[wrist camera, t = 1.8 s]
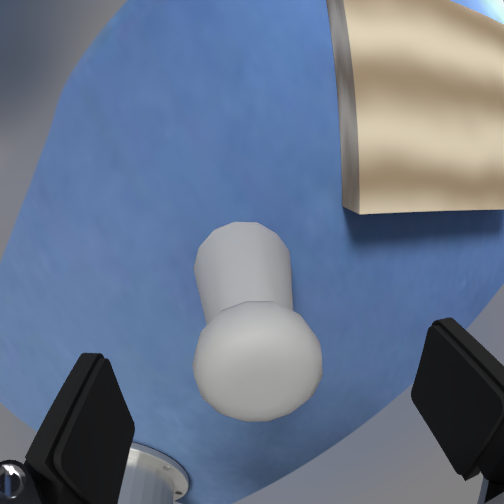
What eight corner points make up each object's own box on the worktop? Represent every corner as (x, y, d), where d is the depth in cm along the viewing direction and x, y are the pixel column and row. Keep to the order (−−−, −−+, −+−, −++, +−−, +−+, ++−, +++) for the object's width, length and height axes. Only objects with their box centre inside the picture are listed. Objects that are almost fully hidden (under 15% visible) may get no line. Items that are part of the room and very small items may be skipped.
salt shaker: (238, 195, 20) (259, 260, 8) (301, 252, 22) (387, 368, 9) (179, 262, 21) (132, 394, 9) (243, 312, 23) (264, 463, 10)
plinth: (498, 202, 22) (521, 209, 19) (342, 206, 21) (359, 214, 18) (486, 32, 17) (507, 26, 14) (324, -11, 16) (337, -29, 13)
